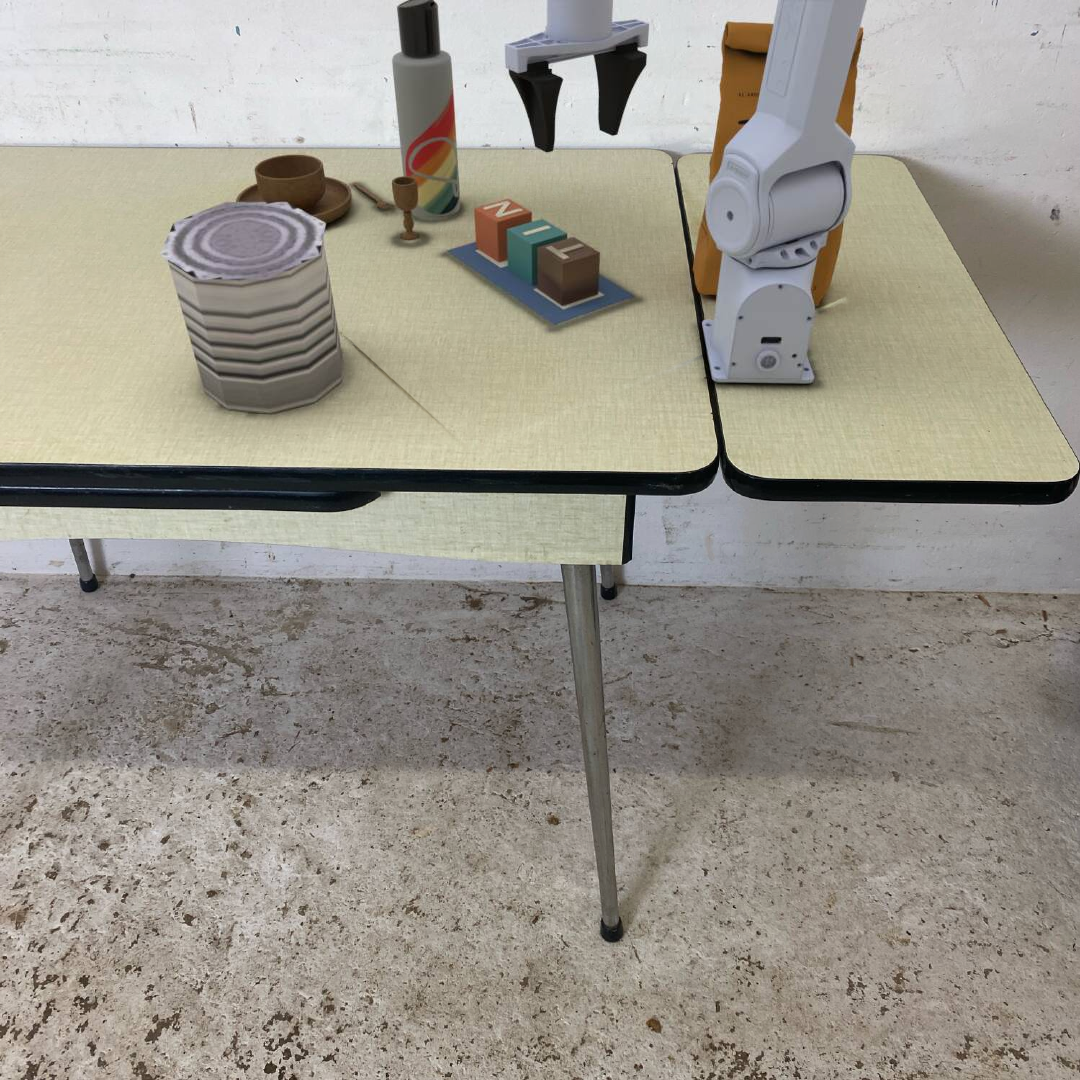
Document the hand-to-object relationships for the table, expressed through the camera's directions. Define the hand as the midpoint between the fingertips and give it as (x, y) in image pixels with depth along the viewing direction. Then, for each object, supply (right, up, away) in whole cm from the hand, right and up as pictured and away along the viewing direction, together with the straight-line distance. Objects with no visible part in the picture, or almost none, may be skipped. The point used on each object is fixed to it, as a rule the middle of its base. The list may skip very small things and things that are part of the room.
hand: (576, 140), depth 89 cm
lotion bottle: (-15, -3, +11) cm, 19 cm away
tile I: (-4, -13, -1) cm, 13 cm away
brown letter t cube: (-1, -15, -4) cm, 16 cm away
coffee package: (+17, -15, -2) cm, 22 cm away
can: (-25, -25, -13) cm, 37 cm away
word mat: (-4, -13, 0) cm, 13 cm away
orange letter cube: (-7, -9, +3) cm, 12 cm away
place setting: (-27, -5, +9) cm, 29 cm away
